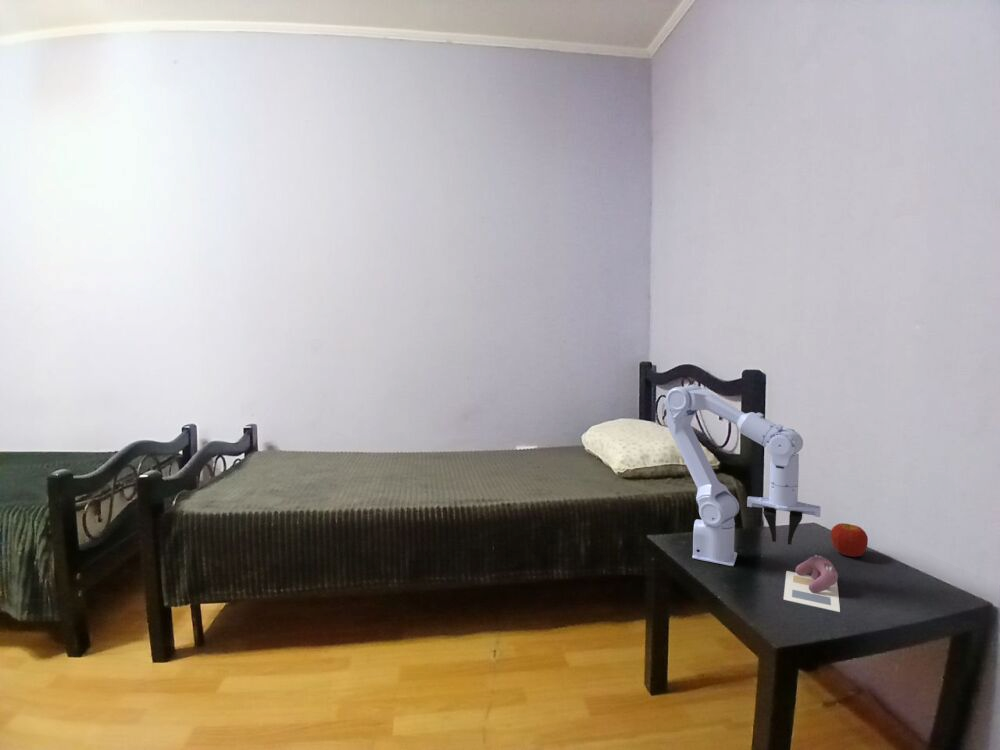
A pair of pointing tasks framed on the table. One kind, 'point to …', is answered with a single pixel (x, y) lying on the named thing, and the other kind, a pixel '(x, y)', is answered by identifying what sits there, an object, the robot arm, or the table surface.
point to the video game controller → (818, 573)
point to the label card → (801, 594)
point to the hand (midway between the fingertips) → (781, 541)
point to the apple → (849, 539)
